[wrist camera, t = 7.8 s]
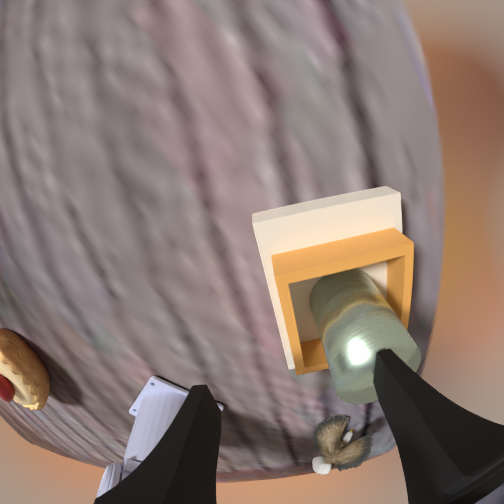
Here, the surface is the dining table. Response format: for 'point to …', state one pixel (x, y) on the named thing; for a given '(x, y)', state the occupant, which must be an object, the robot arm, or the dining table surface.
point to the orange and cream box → (331, 260)
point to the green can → (357, 332)
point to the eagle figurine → (338, 446)
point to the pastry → (22, 372)
